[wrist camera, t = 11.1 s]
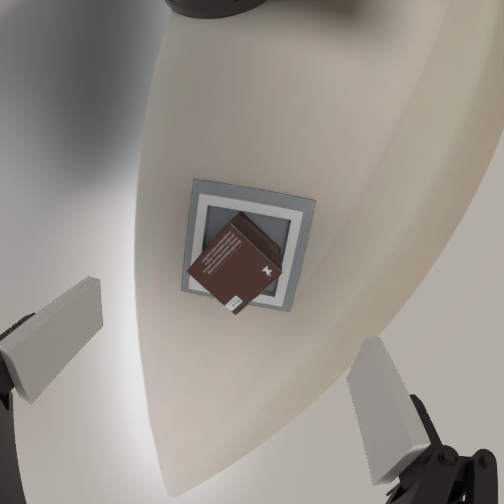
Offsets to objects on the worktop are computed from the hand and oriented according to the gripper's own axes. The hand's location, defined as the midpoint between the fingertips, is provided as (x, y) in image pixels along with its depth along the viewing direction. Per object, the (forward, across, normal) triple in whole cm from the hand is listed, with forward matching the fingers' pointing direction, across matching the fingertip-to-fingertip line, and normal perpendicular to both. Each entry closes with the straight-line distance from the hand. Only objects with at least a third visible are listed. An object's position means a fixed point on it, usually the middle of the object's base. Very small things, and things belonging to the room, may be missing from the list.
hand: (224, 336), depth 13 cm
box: (+19, -1, -2) cm, 19 cm away
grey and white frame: (+19, -1, -1) cm, 19 cm away
